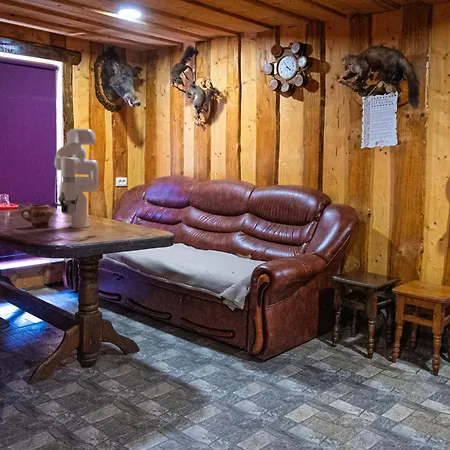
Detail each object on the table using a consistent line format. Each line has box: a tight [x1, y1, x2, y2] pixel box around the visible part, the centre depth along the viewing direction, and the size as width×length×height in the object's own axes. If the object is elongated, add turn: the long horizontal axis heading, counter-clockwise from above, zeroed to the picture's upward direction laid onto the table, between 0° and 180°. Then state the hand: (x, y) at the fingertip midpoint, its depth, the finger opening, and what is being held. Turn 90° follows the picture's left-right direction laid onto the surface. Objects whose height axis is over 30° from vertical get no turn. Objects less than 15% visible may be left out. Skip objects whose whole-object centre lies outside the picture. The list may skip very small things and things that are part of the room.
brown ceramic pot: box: [20, 204, 55, 229], centre depth 325 cm, size 20×12×14 cm, turn 133°
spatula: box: [69, 234, 96, 242], centre depth 288 cm, size 18×6×1 cm, turn 160°
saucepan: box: [51, 203, 76, 215], centre depth 293 cm, size 15×8×5 cm, turn 70°
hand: (68, 211), depth 292 cm, fingers closed on saucepan, 7 cm apart
